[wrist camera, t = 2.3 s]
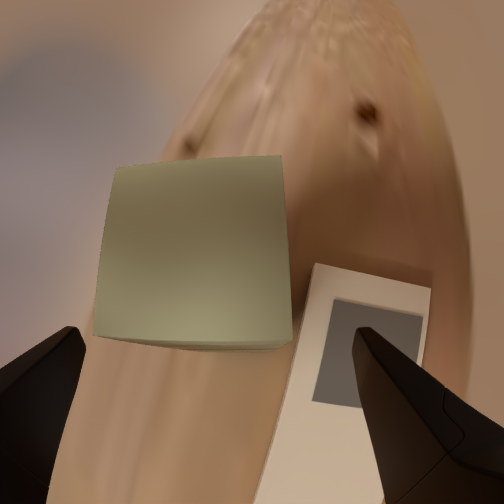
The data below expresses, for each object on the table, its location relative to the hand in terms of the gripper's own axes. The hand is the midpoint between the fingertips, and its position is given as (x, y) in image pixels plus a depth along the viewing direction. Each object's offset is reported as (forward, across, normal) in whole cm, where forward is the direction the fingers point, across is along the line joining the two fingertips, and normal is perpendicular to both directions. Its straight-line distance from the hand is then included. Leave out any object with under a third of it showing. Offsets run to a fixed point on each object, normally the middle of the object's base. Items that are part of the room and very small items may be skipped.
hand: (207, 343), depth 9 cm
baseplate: (+4, -7, +10) cm, 12 cm away
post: (+8, 0, +5) cm, 10 cm away
